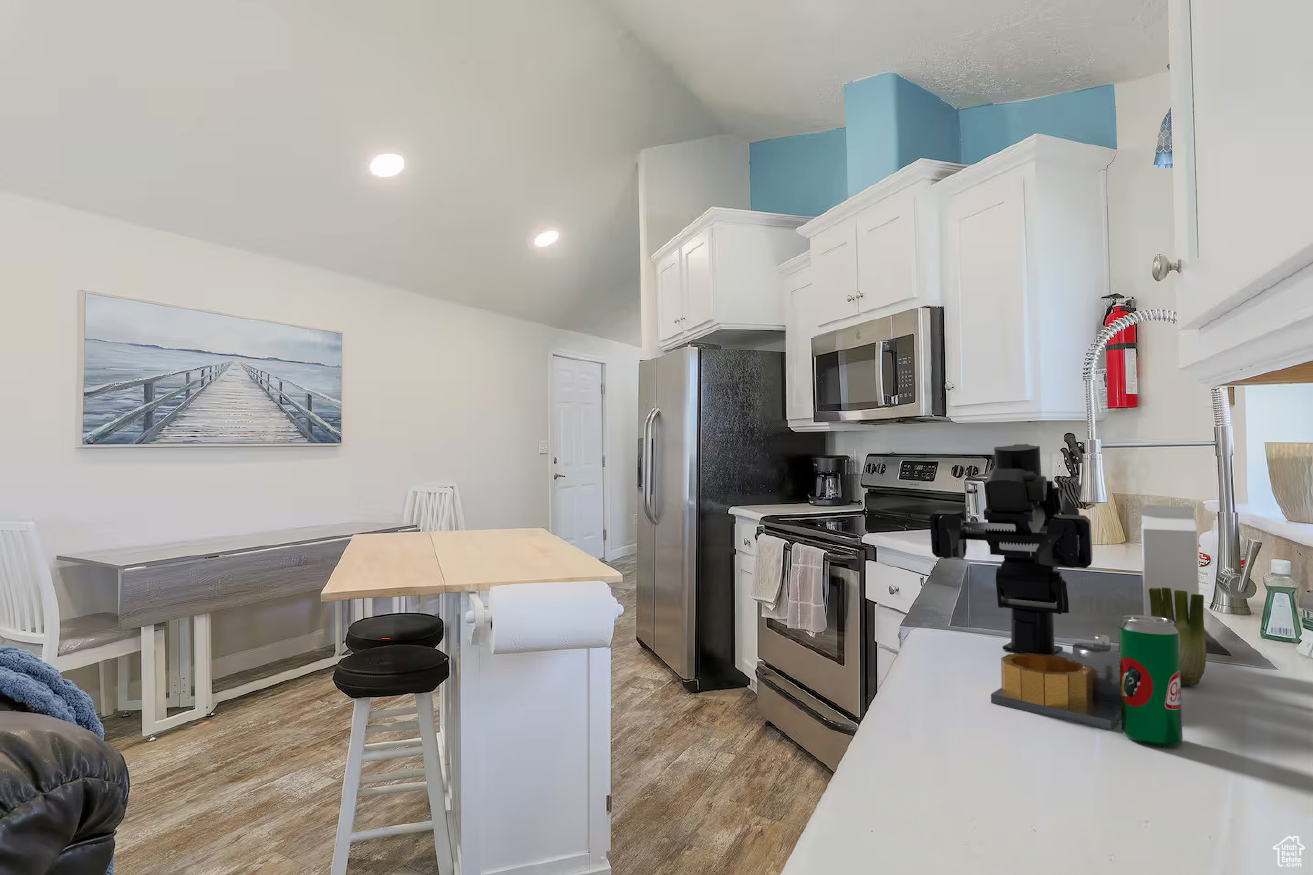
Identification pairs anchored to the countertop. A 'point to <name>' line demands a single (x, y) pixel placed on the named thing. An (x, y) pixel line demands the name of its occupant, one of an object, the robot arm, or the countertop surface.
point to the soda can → (1150, 680)
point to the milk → (1169, 551)
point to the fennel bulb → (1184, 629)
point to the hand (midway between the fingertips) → (994, 555)
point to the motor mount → (1065, 684)
